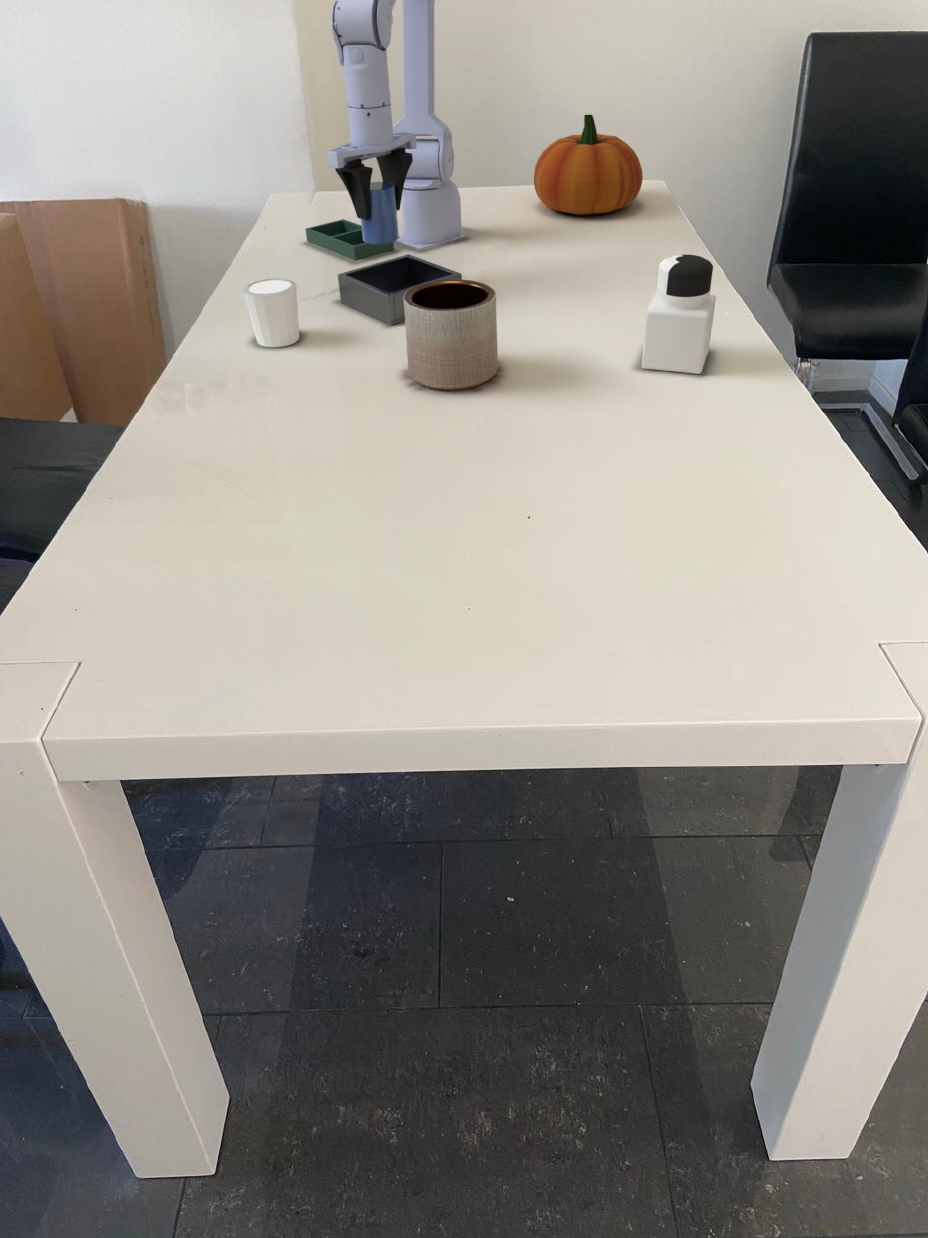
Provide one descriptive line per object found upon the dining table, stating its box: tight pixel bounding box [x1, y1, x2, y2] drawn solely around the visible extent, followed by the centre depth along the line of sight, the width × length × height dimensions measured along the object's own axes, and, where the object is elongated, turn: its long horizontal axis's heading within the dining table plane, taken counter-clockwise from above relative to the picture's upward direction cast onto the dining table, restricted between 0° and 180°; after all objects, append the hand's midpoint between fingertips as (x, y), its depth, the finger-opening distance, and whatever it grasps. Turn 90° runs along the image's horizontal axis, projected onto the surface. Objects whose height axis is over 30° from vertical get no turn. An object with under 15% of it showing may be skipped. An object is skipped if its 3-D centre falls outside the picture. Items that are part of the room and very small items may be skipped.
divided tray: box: [305, 218, 395, 261], centre depth 149 cm, size 8×15×2 cm, turn 39°
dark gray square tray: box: [337, 253, 463, 326], centre depth 128 cm, size 13×13×4 cm
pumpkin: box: [533, 114, 644, 216], centre depth 159 cm, size 19×19×15 cm
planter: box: [404, 279, 499, 391], centre depth 106 cm, size 11×11×10 cm
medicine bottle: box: [641, 254, 717, 375], centre depth 106 cm, size 7×7×12 cm
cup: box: [360, 181, 400, 244], centre depth 127 cm, size 5×5×7 cm
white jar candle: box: [242, 277, 300, 348], centre depth 118 cm, size 7×7×7 cm
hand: (379, 213), depth 127 cm, fingers closed on cup, 5 cm apart
